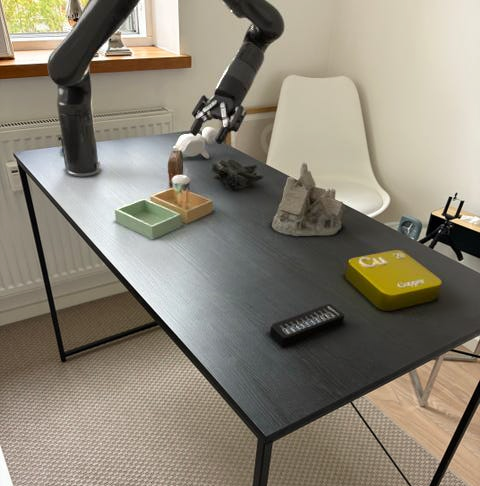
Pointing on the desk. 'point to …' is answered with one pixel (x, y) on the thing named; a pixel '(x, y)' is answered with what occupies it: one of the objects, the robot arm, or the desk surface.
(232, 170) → the mineral specimen
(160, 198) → the bin right
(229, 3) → the robot arm
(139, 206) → the bin left
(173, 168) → the tin
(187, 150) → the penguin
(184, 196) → the milkshake
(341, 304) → the desk surface
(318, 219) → the ceramic cottage
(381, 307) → the element tile
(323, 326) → the multiport hub
